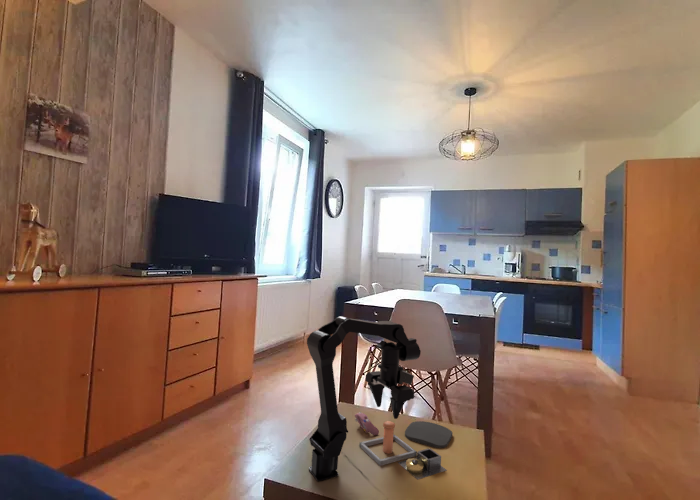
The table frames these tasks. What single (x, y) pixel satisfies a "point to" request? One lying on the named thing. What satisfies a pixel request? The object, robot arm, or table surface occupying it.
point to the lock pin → (388, 436)
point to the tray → (384, 461)
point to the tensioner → (423, 464)
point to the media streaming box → (429, 434)
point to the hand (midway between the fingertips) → (387, 412)
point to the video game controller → (366, 423)
